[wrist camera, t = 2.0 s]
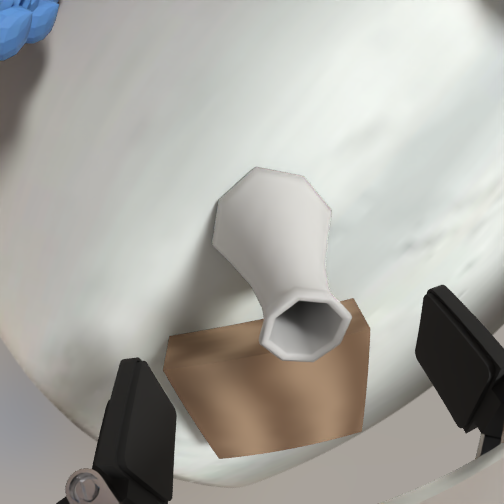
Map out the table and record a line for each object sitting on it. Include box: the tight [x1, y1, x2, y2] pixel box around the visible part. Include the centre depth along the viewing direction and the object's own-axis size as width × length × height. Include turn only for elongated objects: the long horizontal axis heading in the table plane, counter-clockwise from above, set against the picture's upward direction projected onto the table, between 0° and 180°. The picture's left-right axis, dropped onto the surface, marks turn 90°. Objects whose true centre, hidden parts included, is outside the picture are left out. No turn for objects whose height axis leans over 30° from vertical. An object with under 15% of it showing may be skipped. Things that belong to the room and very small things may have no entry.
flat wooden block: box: [163, 298, 370, 459], centre depth 25 cm, size 14×14×4 cm
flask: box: [212, 167, 352, 362], centre depth 15 cm, size 7×7×10 cm
